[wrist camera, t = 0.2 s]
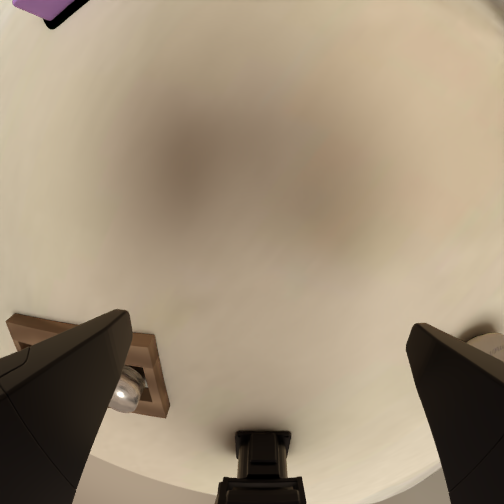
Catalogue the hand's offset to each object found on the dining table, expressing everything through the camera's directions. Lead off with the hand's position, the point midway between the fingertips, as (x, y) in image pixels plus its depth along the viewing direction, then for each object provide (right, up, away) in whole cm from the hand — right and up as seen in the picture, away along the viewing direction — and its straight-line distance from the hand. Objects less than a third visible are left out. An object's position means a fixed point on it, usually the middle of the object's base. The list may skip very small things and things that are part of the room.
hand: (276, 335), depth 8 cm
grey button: (-13, -10, +18) cm, 24 cm away
